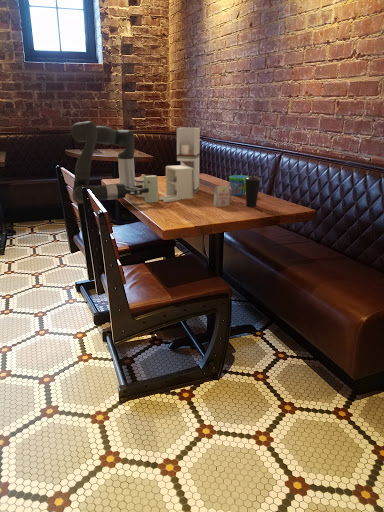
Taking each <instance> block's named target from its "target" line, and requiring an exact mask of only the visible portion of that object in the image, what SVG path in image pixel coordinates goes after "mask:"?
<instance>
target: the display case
mask: <svg viewBox="0 0 384 512" xmlns="http://www.w3.org/2000/svg"><path fill="white" fill-rule="evenodd" d="M200 130H201V127H177V128H176V161H177V162H180V165H184V166H188V167H191V168H193V194H197V192H198V191H199V190H200V148H201V145H200V144H201V143H200V142H201V138H200V137H201V134H200V133H201V131H200Z"/></svg>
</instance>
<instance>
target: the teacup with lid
mask: <svg viewBox="0 0 384 512" xmlns="http://www.w3.org/2000/svg"><path fill="white" fill-rule="evenodd" d="M144 176H146V174H141V176H138V177H137V178H136V177H135V186H136V185H142V186H143V188H144ZM138 192H139V191H138ZM135 196H136V197H138V198H145V196H144V193H142V194H141V195H135Z"/></svg>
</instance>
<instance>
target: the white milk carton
mask: <svg viewBox="0 0 384 512" xmlns="http://www.w3.org/2000/svg"><path fill="white" fill-rule="evenodd" d="M229 187H230V185H218V186H215V188H214V192H213V206H214V207H215V208H225V207H230V189H229Z"/></svg>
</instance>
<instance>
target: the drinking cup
mask: <svg viewBox="0 0 384 512" xmlns="http://www.w3.org/2000/svg"><path fill="white" fill-rule="evenodd" d="M251 170H252V171H251V175H250V176H248V177H247V178H245V186H246V191H245V204H246V207H247V208H256V207H257V202H258V196H259V189H260V182H261V178H260V177H258V176H255V175H254V174H255V173H254V172H255V165H252V169H251Z"/></svg>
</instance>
